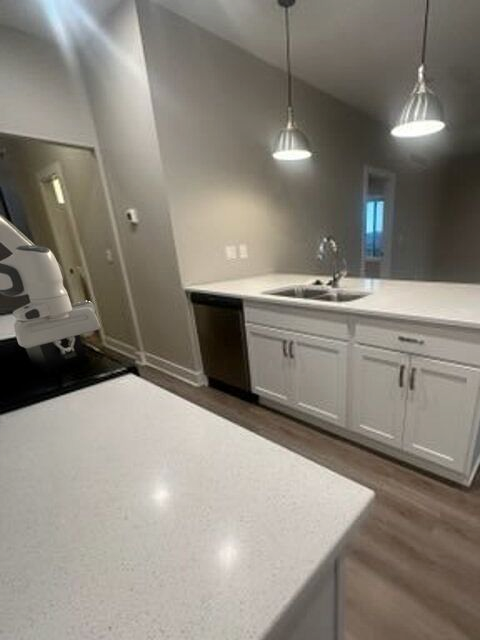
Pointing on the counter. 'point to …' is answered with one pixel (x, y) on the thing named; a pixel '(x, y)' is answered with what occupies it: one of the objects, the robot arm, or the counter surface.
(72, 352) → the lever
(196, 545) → the counter surface
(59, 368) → the dark grey storage bin
